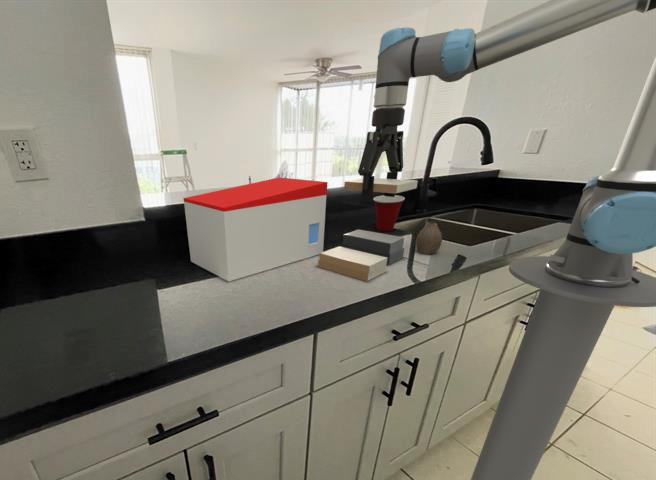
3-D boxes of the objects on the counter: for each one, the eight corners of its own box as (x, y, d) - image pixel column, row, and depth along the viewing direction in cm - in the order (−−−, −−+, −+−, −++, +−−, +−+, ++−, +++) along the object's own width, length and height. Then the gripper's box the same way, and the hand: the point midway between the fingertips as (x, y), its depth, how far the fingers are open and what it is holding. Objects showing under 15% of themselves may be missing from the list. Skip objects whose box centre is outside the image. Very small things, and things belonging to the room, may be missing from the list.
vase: (427, 257, 97) (433, 227, 94) (409, 250, 103) (414, 222, 99) (444, 253, 100) (451, 224, 96) (426, 247, 105) (431, 219, 102)
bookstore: (323, 252, 103) (328, 181, 94) (228, 281, 84) (222, 196, 76) (279, 239, 118) (279, 177, 109) (190, 261, 99) (182, 188, 91)
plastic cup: (363, 229, 128) (367, 197, 123) (380, 225, 134) (384, 194, 129) (388, 234, 120) (393, 200, 115) (405, 229, 126) (411, 197, 121)
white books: (385, 272, 87) (387, 257, 86) (367, 281, 82) (368, 266, 80) (337, 259, 98) (338, 246, 96) (318, 266, 92) (318, 253, 91)
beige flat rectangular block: (416, 188, 89) (417, 180, 88) (395, 193, 82) (396, 185, 81) (366, 184, 99) (367, 177, 98) (343, 189, 93) (344, 181, 92)
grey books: (403, 258, 97) (406, 237, 95) (388, 265, 92) (391, 244, 89) (357, 247, 108) (359, 229, 105) (341, 253, 102) (343, 234, 100)
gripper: (398, 110, 92) (387, 192, 102) (348, 108, 78) (341, 203, 87) (425, 108, 87) (411, 195, 96) (377, 104, 73) (366, 206, 82)
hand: (378, 199), depth 92 cm, fingers closed on beige flat rectangular block, 11 cm apart
